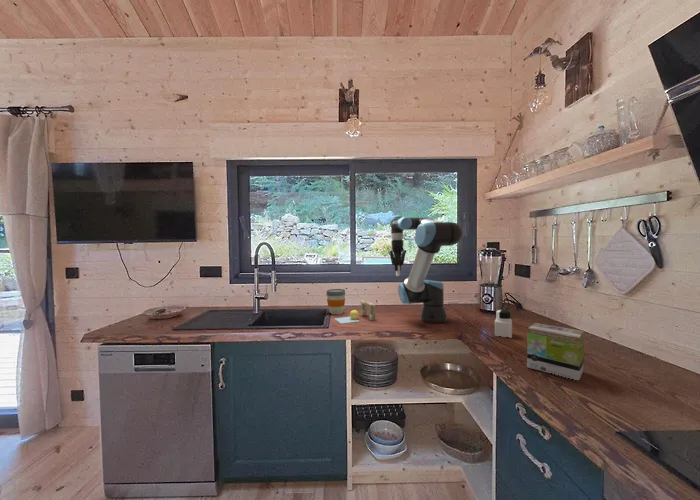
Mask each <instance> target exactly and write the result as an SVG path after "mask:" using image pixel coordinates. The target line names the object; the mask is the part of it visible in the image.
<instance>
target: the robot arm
mask: <svg viewBox="0 0 700 500" xmlns="http://www.w3.org/2000/svg"><path fill="white" fill-rule="evenodd" d="M390 225H391V226H390V228H391V235H390V236H391V249H390V250H388V253H389V257H390V261H391V265H392V266H394V271H395V276H396V277H400V276H401V271H402V266H403V265H404V264H405V258H406V253H407V250H406V249H404V231H406V230H412V231H413V230H415V232H414V233H415V234H414V241H415V244H416V246H417V251H416V255H415V258H414V260H413V263H412V265H411V269H410V272H409V275H408V277H406V278H405V279H404V282H403V283H399V284H398V287H397V290H398V296H399V300H400V302H401V303H402V304H405V305H406V304H407V305H410V304H422V309H421V313H420V315H419V316H420V320H421V321H422V322H425V323H431V324H432V323H433V324H437V323H438V324H440V323H446V322H447V321H448V316H447V313H446V311H445V307H444V300H445V299H444V297H445V296H444V290H445V289H444V283H443V282H441V281H438V280H431V279H426V277H427V275H428V272H429V269H430V267H431V265H432V262H433V259H434V257H435V255H436V254H438V253H439V252H440V251H441V248H442V247H446V246H447V247H449V246H454V245H457V244H458V243H459V242H461V240H462V238H463V237H464V231H463V228H462V226H461V225H460V224H459V223H457V222H454V221H453V222H452V221H445V222H443V221H439V220H435V219H432V218H431V217H408V216H402V215H392V216H391V218H390Z"/></svg>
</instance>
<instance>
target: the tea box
mask: <svg viewBox="0 0 700 500" xmlns="http://www.w3.org/2000/svg"><path fill="white" fill-rule="evenodd" d="M526 337H527V339H526V341H527V342H526V345H527V347H526V348H527V349H526V350H527V351H526V354H527V355H526V358H527V360H526V365H527V369H528V368H529V369H533V370H537V371H541V372H543V373H547V374H551V373H552V374H551V375H554V374H555V375H554V376H558V375H559V376H558V377H561V376H562V377H561V378H565V377H566V378H565V379H568V378H570V379H569V380H571V379H574V380H573V381H575V380H579V381H580V379H581V377H582V375H583V372H584V362H585V361H584V359H585V356H584V353H585V352H584V350H585V343H584V342H585V331H584V330H578V329H573V328H568V327H561V326H557V325H549V324H544V323H539V322H538V323H537V322H533V324H532V325H530V326H529V327H528V328H527V336H526Z"/></svg>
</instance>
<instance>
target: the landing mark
mask: <svg viewBox="0 0 700 500" xmlns="http://www.w3.org/2000/svg"><path fill="white" fill-rule="evenodd" d="M333 319H334V320H335V321H336V322H338V323H339V324H340V325H341V324H348V323H349V324H350V323H357V322H360V320H359V319H358V318H357V319H352V318H351V317H350V316H343V317H336V318H333Z"/></svg>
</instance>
